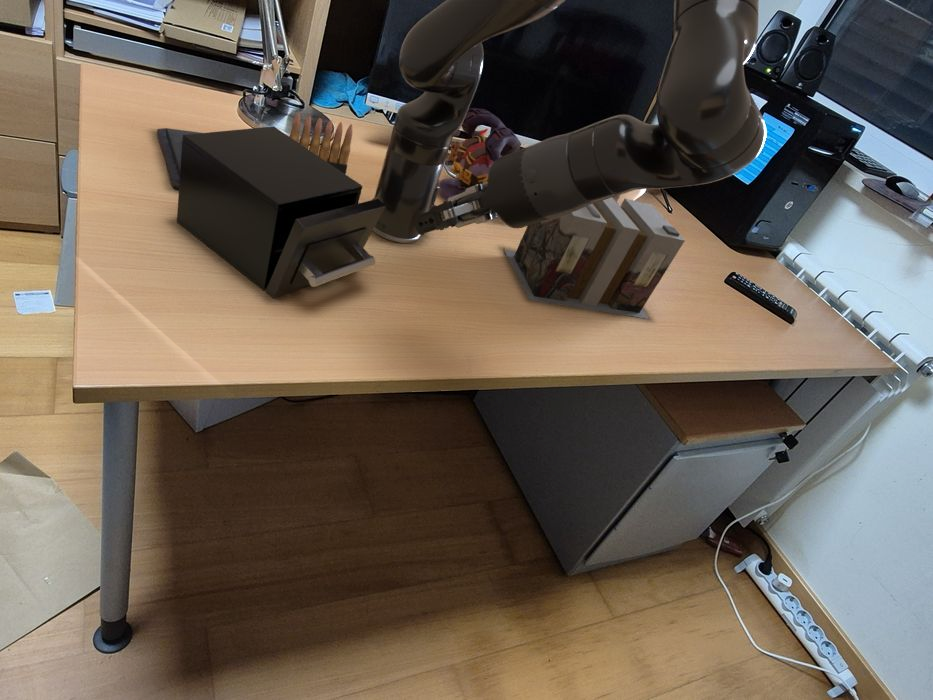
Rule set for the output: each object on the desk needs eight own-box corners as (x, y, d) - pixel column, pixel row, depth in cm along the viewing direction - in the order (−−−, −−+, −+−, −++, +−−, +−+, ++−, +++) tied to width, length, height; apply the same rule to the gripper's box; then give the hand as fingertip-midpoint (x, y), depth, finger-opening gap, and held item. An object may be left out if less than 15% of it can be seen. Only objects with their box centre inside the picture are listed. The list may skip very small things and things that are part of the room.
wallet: (157, 120, 104) (250, 134, 112) (156, 131, 105) (249, 144, 113) (170, 178, 91) (274, 189, 99) (169, 190, 92) (273, 200, 100)
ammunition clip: (340, 186, 112) (355, 123, 105) (342, 191, 111) (357, 127, 104) (280, 177, 107) (291, 109, 100) (281, 182, 106) (293, 114, 99)
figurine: (520, 228, 125) (554, 151, 115) (462, 223, 117) (493, 140, 108) (477, 179, 137) (505, 106, 127) (422, 172, 130) (447, 94, 120)
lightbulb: (633, 222, 150) (656, 181, 144) (614, 219, 147) (636, 177, 141) (620, 209, 154) (642, 169, 148) (601, 206, 151) (623, 164, 145)
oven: (342, 263, 93) (362, 185, 85) (263, 291, 81) (278, 204, 74) (261, 204, 98) (273, 126, 90) (176, 222, 87) (182, 134, 79)
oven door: (367, 287, 92) (404, 224, 84) (291, 319, 80) (324, 249, 72) (344, 263, 93) (378, 198, 85) (265, 290, 81) (295, 218, 73)
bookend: (649, 318, 113) (697, 244, 104) (529, 300, 103) (570, 215, 94) (614, 270, 124) (655, 198, 115) (503, 249, 115) (538, 169, 105)
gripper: (525, 230, 58) (394, 269, 69) (581, 206, 68) (459, 243, 79) (500, 151, 57) (371, 203, 67) (562, 138, 67) (440, 185, 77)
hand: (419, 225), depth 73 cm, fingers closed
